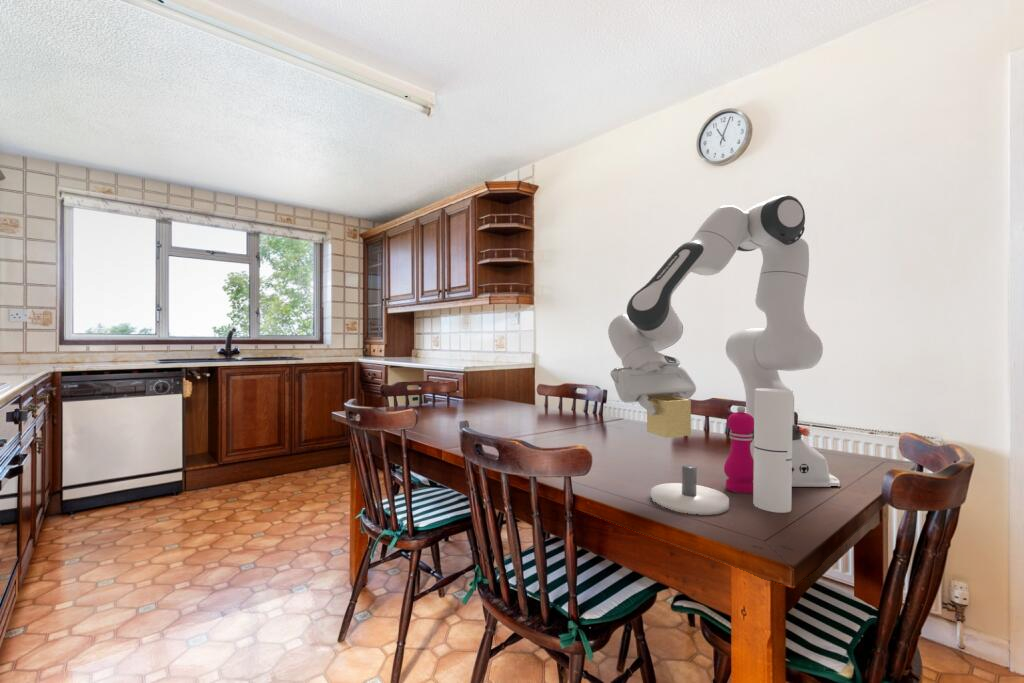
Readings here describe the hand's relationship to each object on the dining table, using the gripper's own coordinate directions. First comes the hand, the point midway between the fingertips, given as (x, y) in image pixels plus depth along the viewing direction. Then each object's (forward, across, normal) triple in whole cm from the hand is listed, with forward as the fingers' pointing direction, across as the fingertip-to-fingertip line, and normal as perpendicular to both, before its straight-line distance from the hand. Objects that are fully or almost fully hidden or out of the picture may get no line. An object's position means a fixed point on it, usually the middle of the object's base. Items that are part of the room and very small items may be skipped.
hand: (670, 412), depth 106 cm
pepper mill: (+15, +19, +12) cm, 27 cm away
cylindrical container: (+23, +16, +4) cm, 28 cm away
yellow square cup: (+3, 0, +4) cm, 5 cm away
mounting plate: (+17, +1, +10) cm, 19 cm away
